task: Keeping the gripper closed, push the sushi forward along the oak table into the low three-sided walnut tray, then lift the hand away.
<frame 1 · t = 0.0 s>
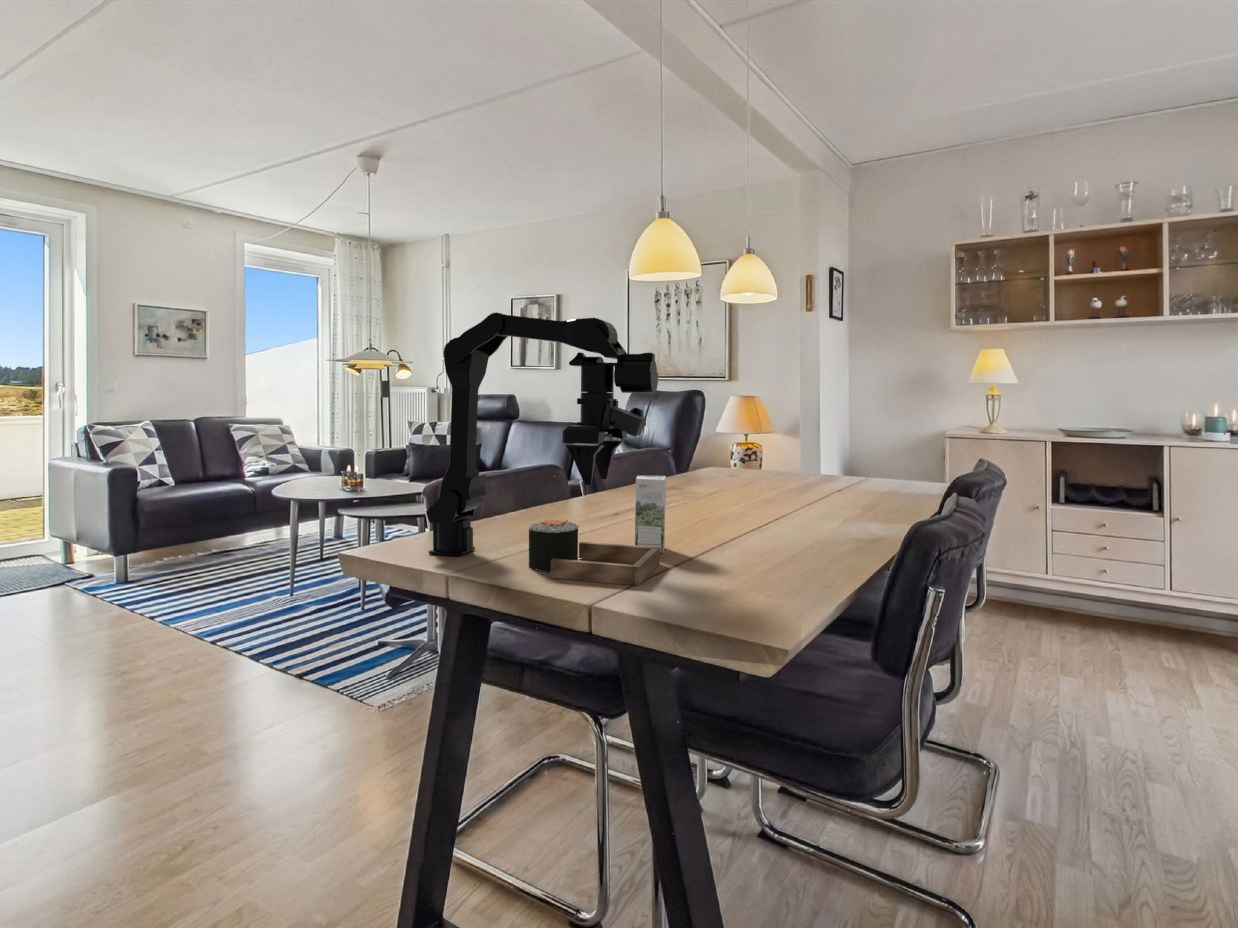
hand: (596, 481, 123), 15 cm above the table, tool pointing down, fingers open, 9 cm apart
syrup box: (649, 551, 136), on the table
sushi: (553, 567, 122), on the table
tray: (608, 570, 120), on the table
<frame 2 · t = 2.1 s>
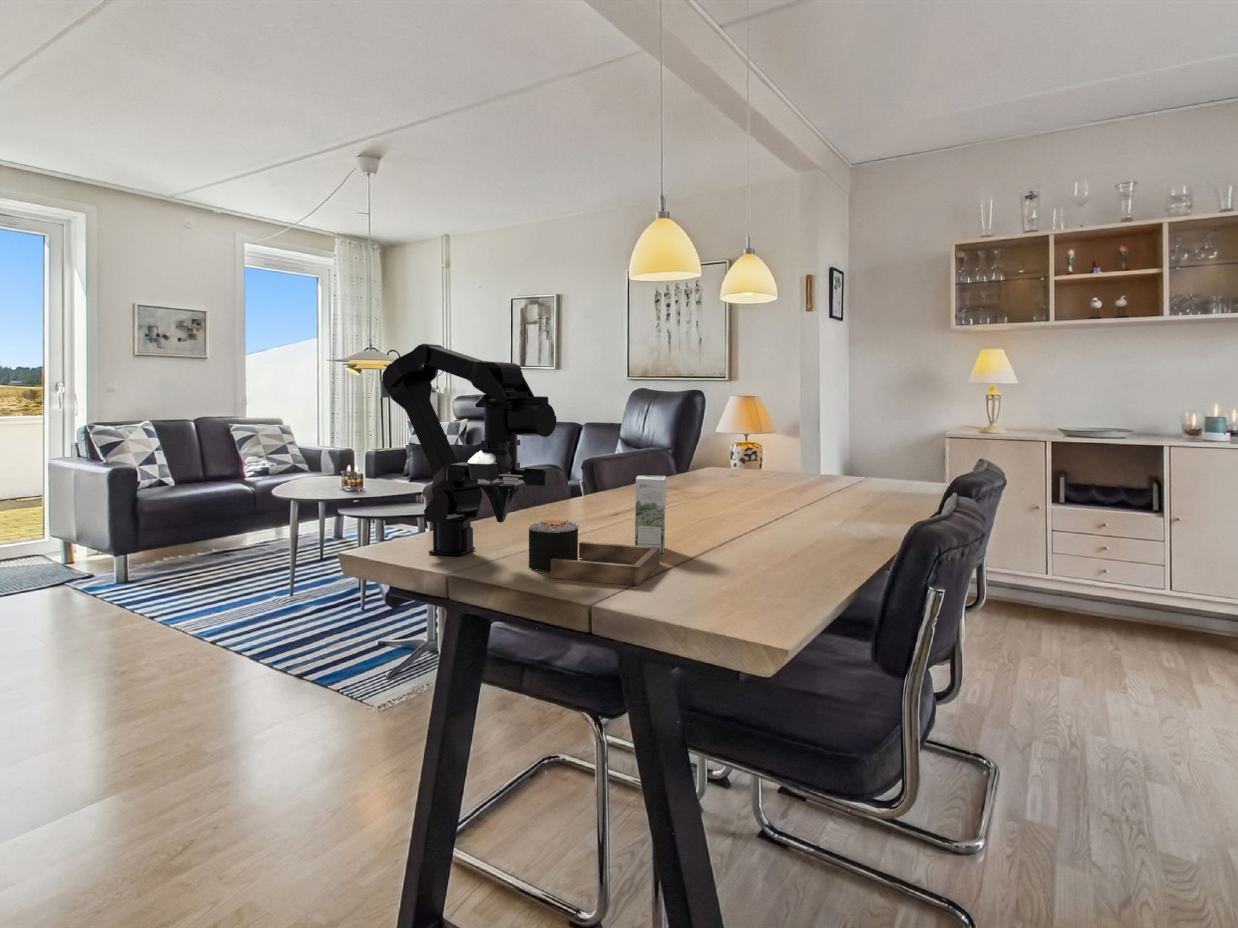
hand: (500, 522, 125), 7 cm above the table, tool pointing down, fingers closed
nothing on the table moved.
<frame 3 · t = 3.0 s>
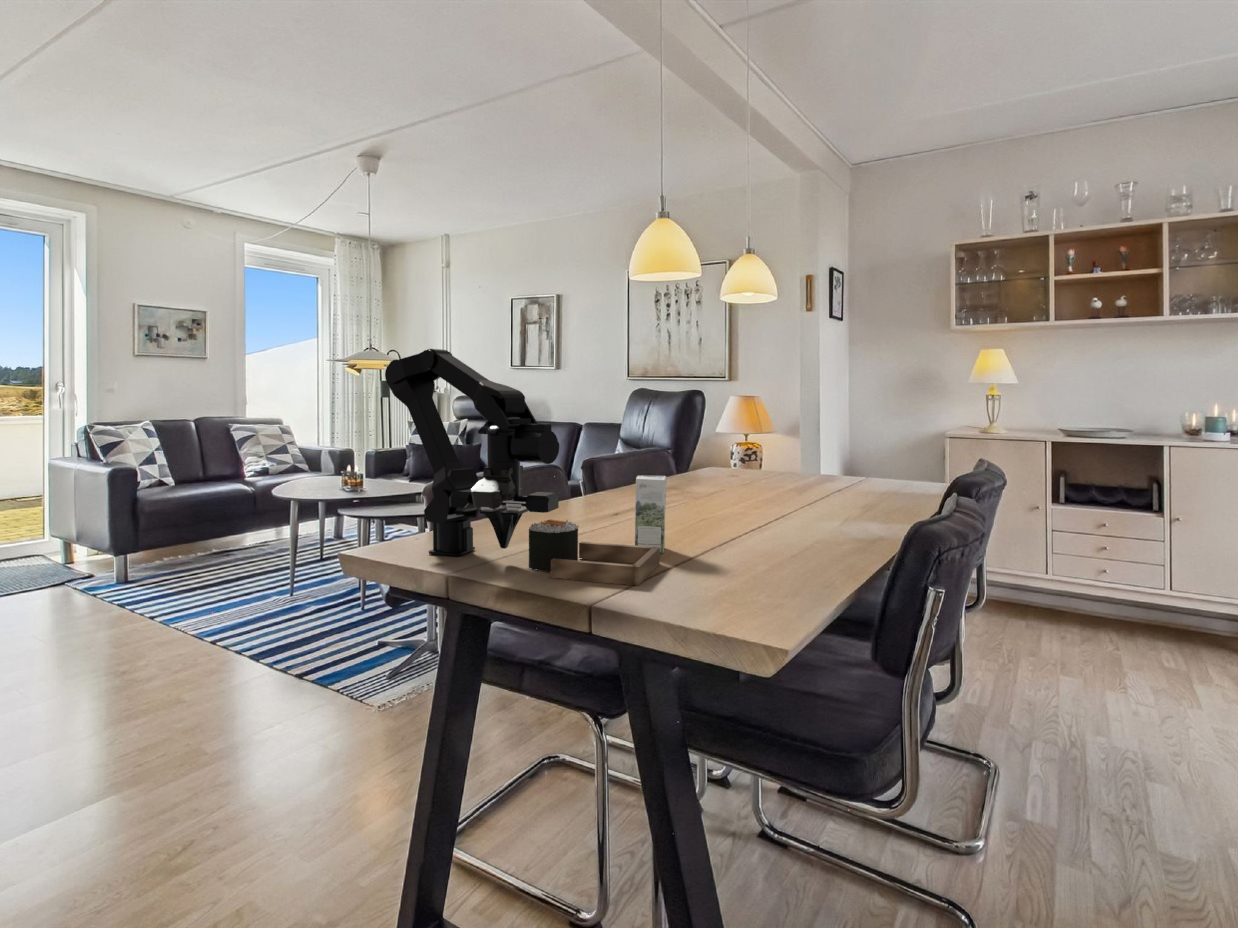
hand: (504, 548, 125), 3 cm above the table, tool pointing down, fingers closed
nothing on the table moved.
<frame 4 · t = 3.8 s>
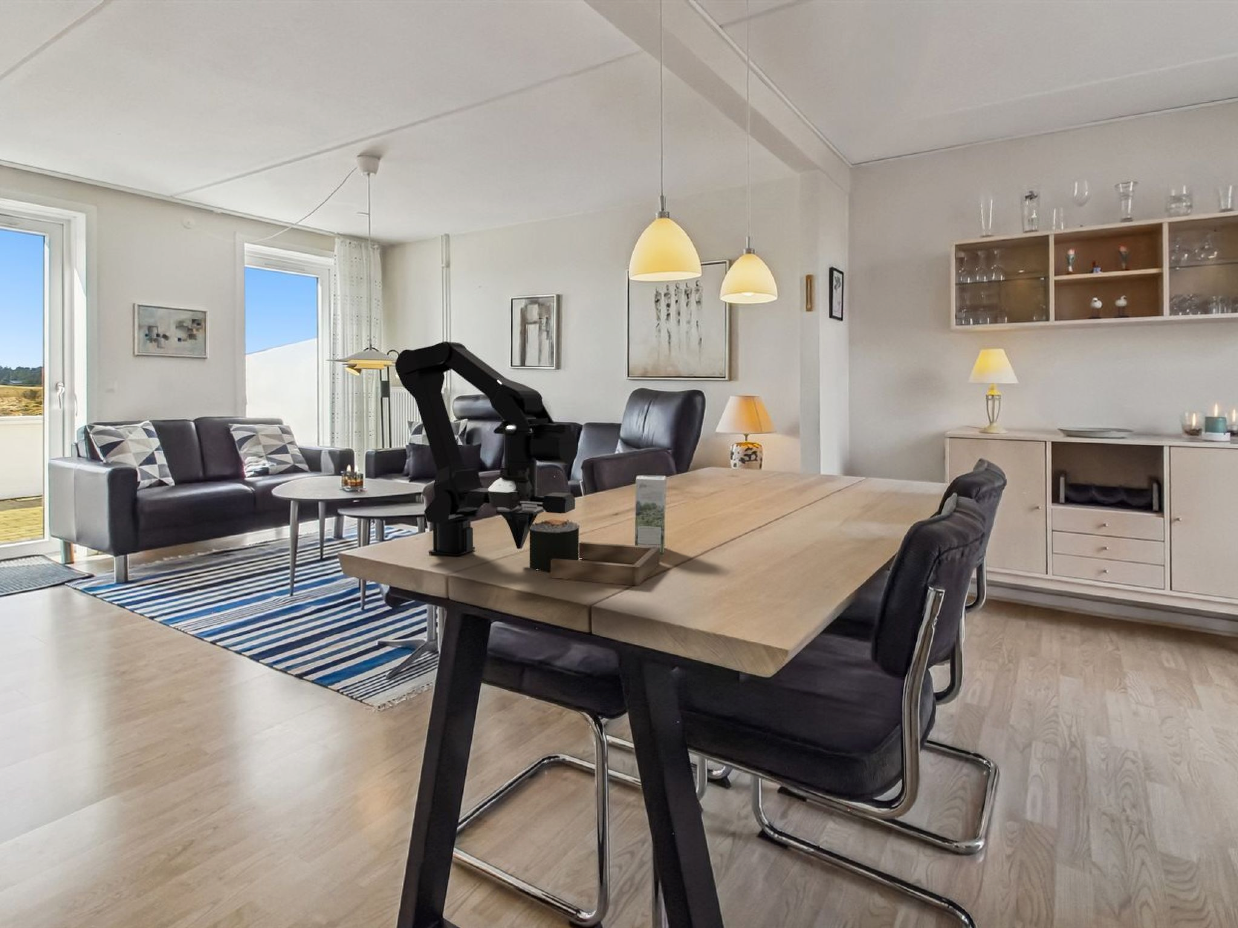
hand: (519, 548, 124), 3 cm above the table, tool pointing down, fingers closed
sushi: (554, 567, 122), on the table, touching gripper
everything else where it was.
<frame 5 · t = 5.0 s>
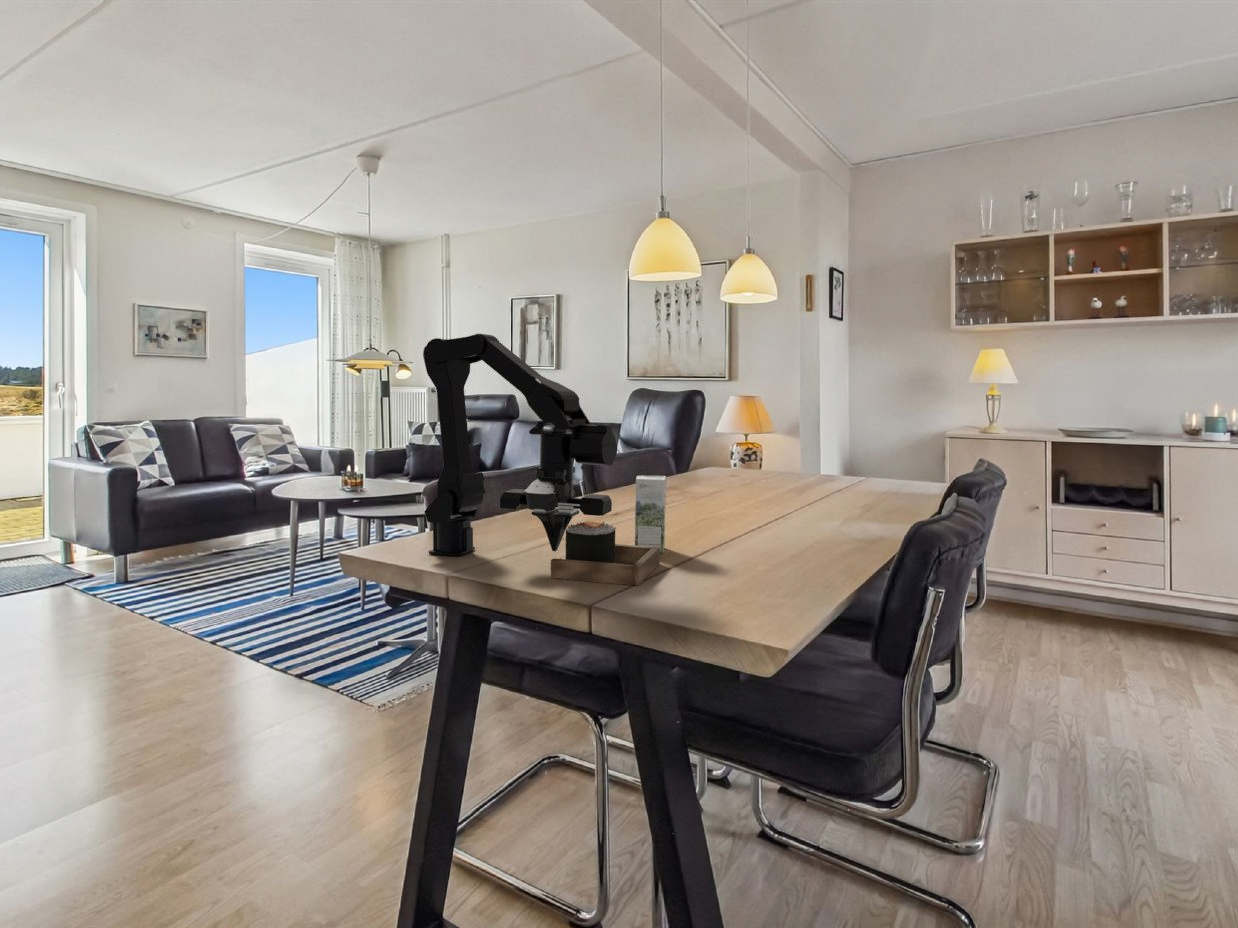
hand: (554, 550, 122), 3 cm above the table, tool pointing down, fingers closed
sushi: (590, 570, 121), on the table, touching gripper
everything else where it was.
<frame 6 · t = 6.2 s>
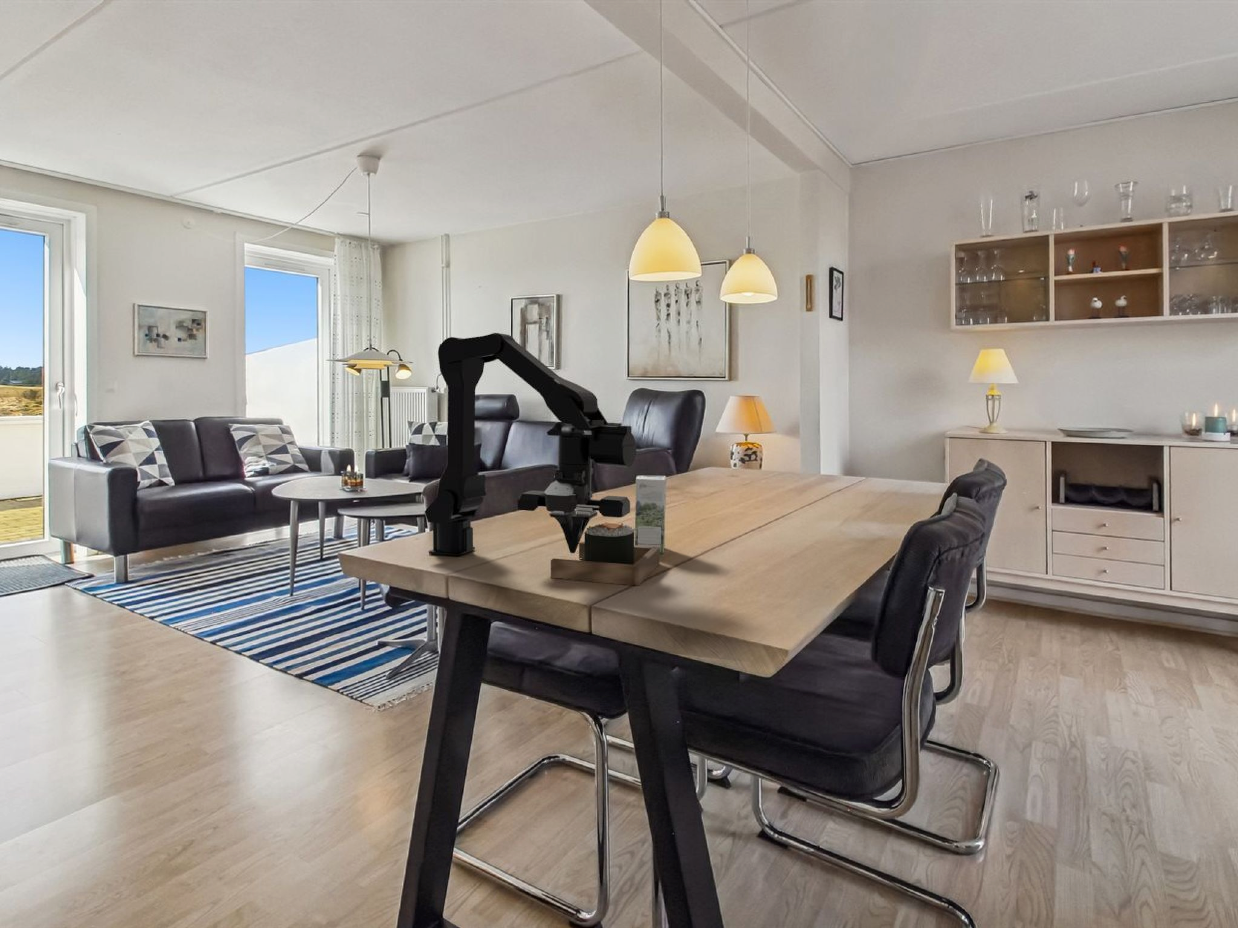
hand: (572, 552, 121), 3 cm above the table, tool pointing down, fingers closed
sushi: (609, 572, 120), on the table, touching gripper
everything else where it was.
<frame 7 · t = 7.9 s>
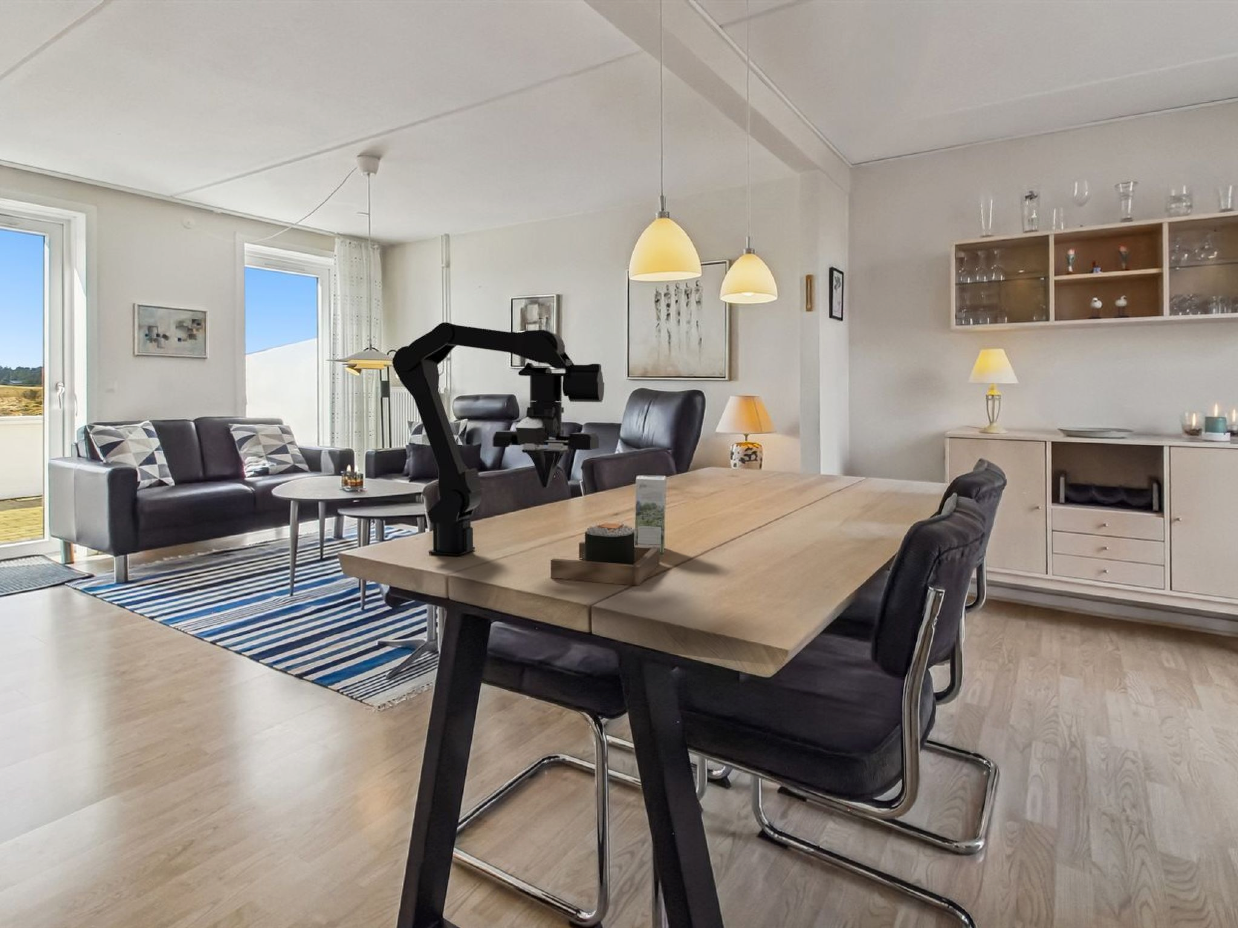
hand: (545, 487, 128), 13 cm above the table, tool pointing down, fingers closed
sushi: (610, 572, 120), on the table
everything else where it was.
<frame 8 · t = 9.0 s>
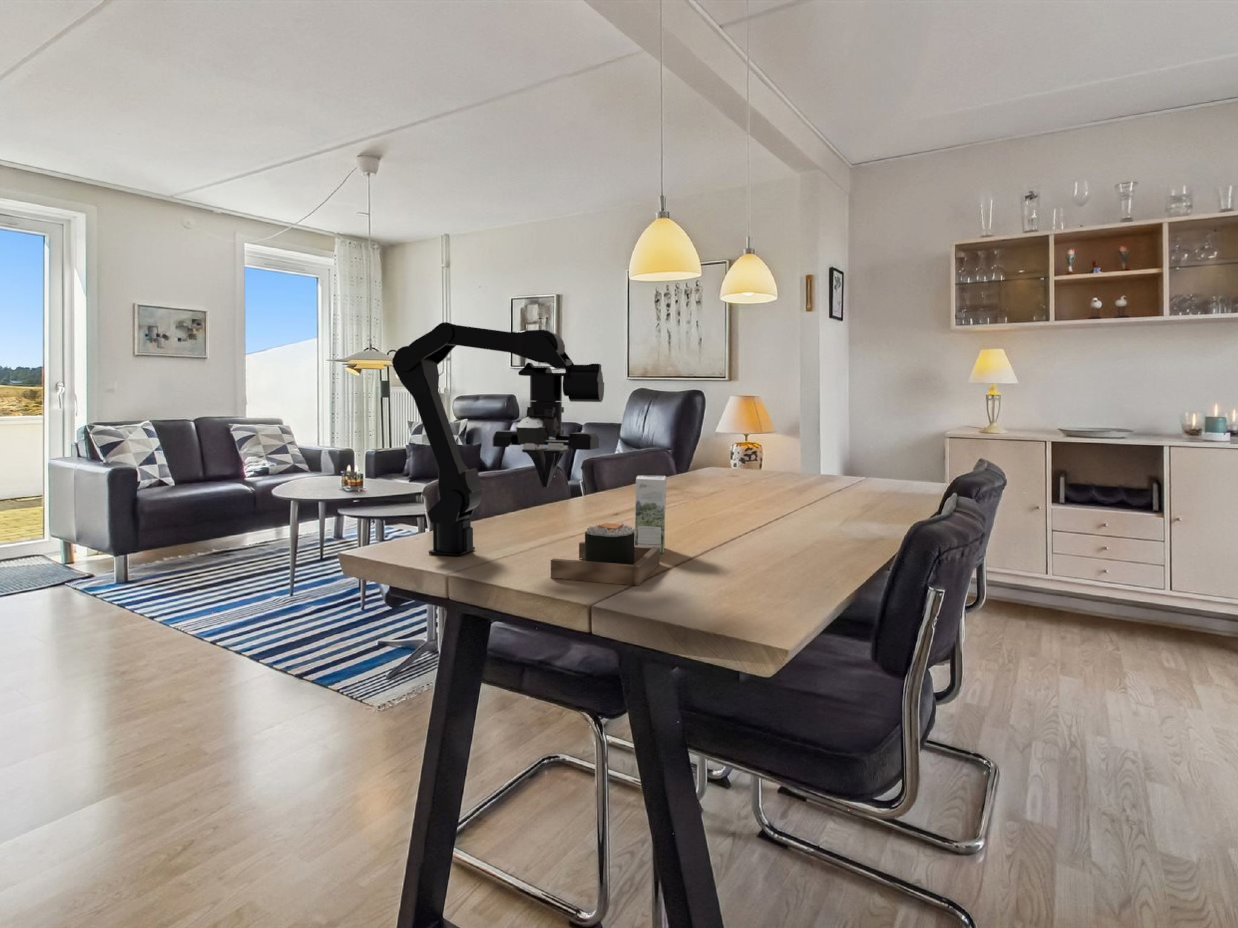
hand: (545, 487, 128), 13 cm above the table, tool pointing down, fingers closed
nothing on the table moved.
at the end: sushi inside the target area on the tray (0.7 cm from its centre), point 0.0 cm above the tray's base; sushi tilted 0° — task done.
